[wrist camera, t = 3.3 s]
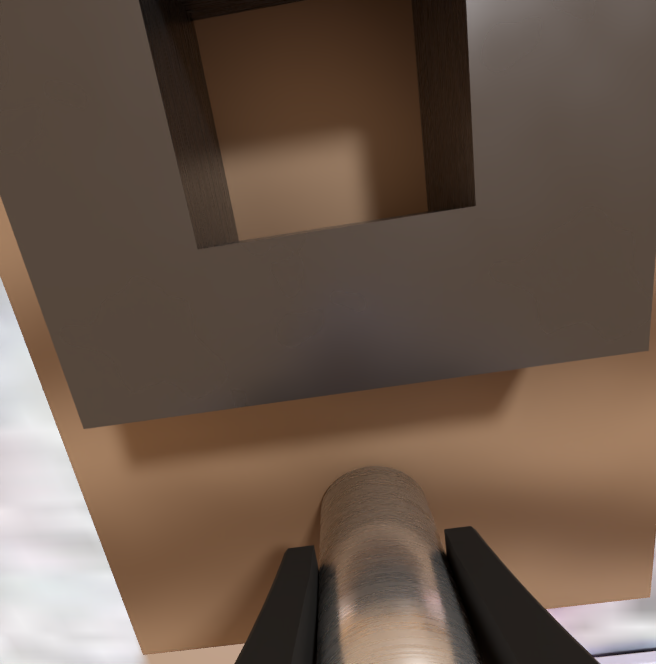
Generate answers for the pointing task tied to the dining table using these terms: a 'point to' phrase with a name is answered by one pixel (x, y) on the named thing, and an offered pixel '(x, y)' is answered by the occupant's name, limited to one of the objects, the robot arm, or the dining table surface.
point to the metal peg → (386, 577)
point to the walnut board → (360, 406)
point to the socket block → (336, 241)
